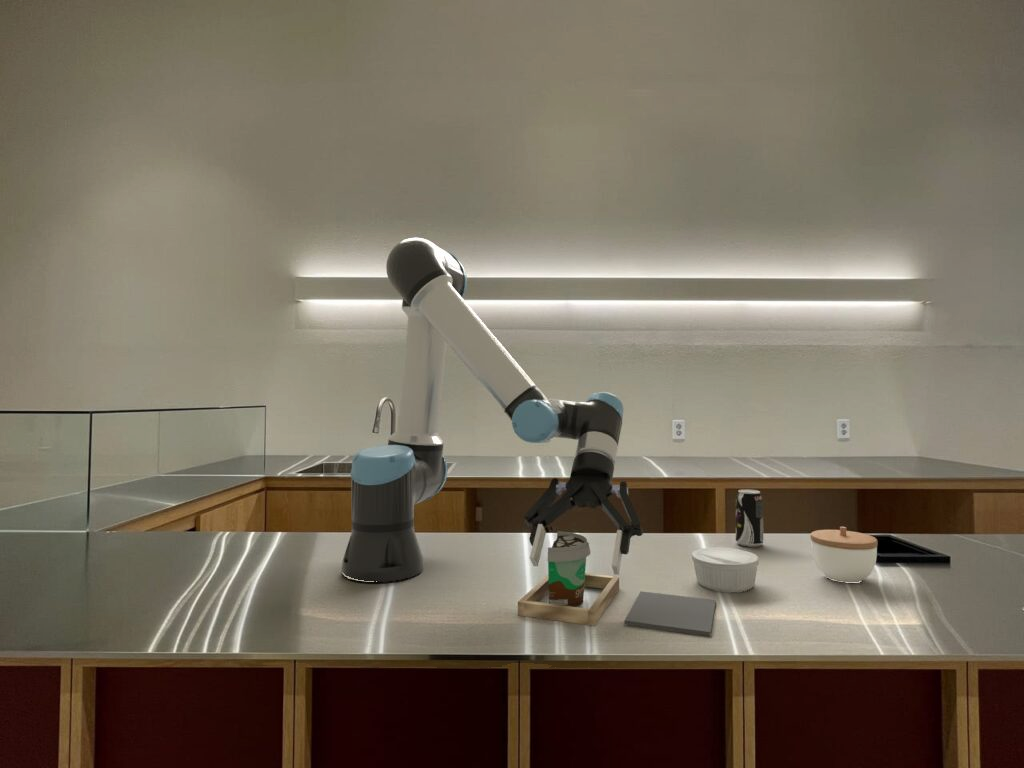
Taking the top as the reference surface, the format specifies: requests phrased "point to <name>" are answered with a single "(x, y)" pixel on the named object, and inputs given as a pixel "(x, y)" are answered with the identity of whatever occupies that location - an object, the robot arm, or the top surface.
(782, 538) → the top surface
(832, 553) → the lidded jar
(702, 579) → the ramekin
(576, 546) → the food container
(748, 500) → the beverage can
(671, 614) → the charcoal mat
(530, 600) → the oak frame
